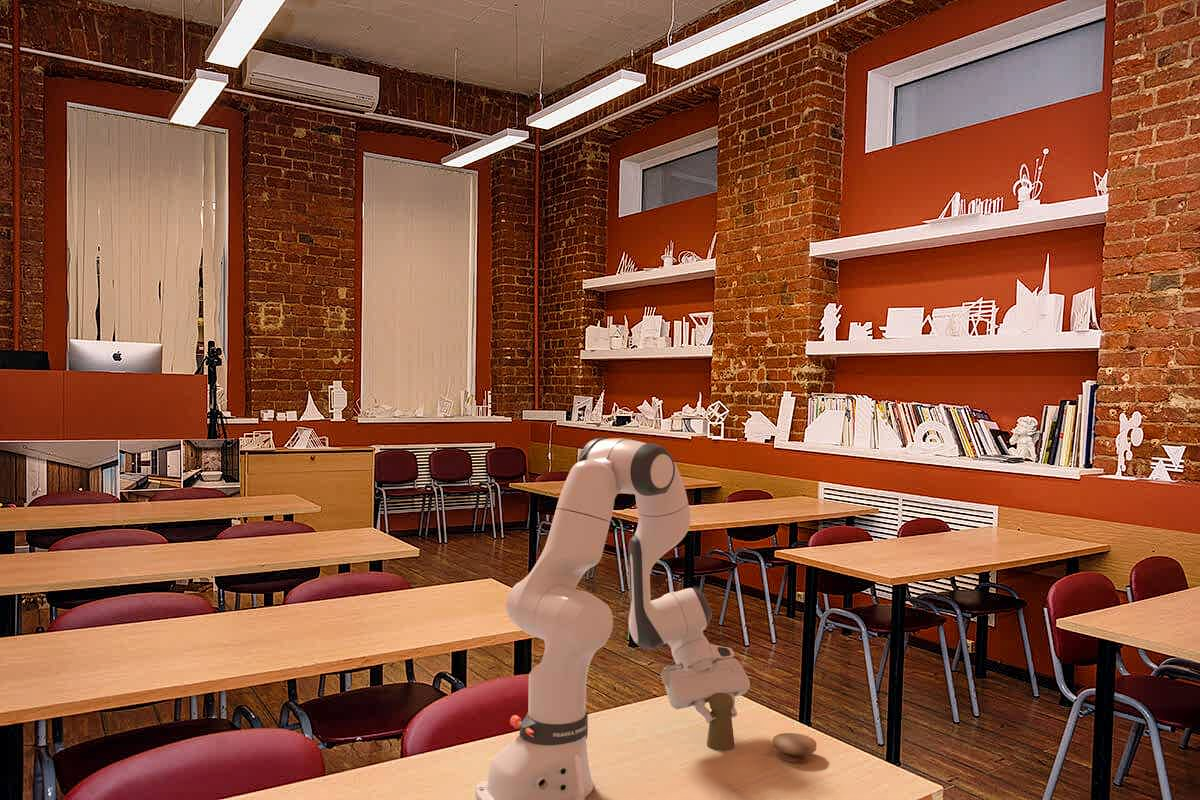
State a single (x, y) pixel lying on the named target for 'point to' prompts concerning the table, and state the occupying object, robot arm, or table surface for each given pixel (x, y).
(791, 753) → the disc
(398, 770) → the table surface
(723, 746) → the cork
